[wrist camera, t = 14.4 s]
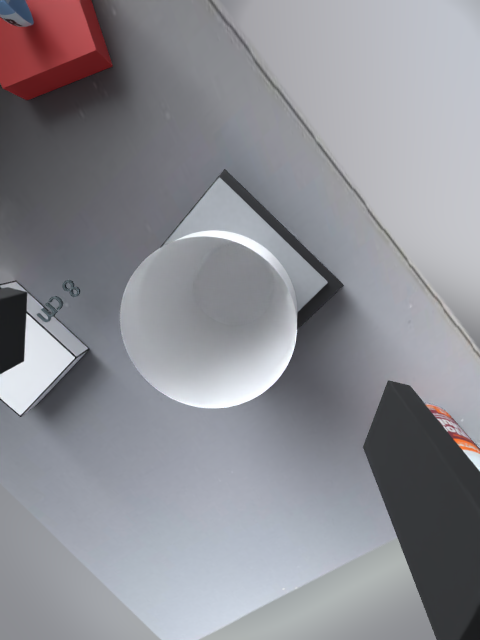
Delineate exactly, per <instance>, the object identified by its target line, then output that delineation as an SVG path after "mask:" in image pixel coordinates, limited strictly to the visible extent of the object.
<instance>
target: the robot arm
mask: <svg viewBox="0 0 480 640" xmlns="http://www.w3.org/2000/svg"><path fill="white" fill-rule="evenodd" d="M26 312H27V292H25V291H21V290H17V289H13V288H9V287H6V288H1V289H0V374H2V373H4V372H5V371H7V370H9V369H11V368H13V367H15V366H16V365H18V364H20V363H22V362H24V353H25V332H26ZM363 448H364V451H365V453H366V456H367V459H368V461H369V464H370V467H371V469H372V472H373V474H374V477H375V480H376V482H377V485H378V487H379V490H380V493H381V495H382V498H383V501H384V503H385V506H386V508H387V511H388V514H389V516H390V519H391V521H392V524H393V527H394V529H395V532H396V535H397V537H398V539H399V542H400V544H401V548H402V550H403V553H404V555H405V558H406V561H407V563H408V566H409V569H410V571H411V573H412V576H413V579H414V582H415V584H416V587H417V589H418V592H419V595H420V597H421V600H422V602H423V605H424V608H425V610H426V613H427V616H428V618H429V621H430V623H431V626H432V629H433V631H434V634H435V636H436V639H437V640H480V471H479V470H478V469H477V467H476V466H475V465H474V464H473V462H472V461H471V460H470V459H469V457H468V456H467V455H466V454H465V453H464V451H463V450H462V449H461V448H460V446H459V445H458V444H457V443H456V442H455V440H454V439H453V438H452V437H451V435H450V434H449V433H448V432H447V431H446V429H445V428H444V427H443V426H442V424H441V423H440V422H439V421H438V419H437V418H436V417H435V416H434V415H433V413H432V412H431V411H430V410H429V408H428V407H427V406H426V405H425V404H424V402H423V401H422V400H421V399H420V397H419V396H418V395H417V394H416V392H415V391H414V390H413V389H412V388H411V386H409V385H405V384H401V383H397V382H393V381H389V380H388V382H387V385H386V387H385V390H384V393H383V395H382V398H381V401H380V403H379V406H378V409H377V411H376V414H375V417H374V419H373V422H372V424H371V427H370V430H369V432H368V435H367V438H366V440H365V443H364V446H363Z"/></svg>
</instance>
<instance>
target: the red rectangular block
mask: <svg viewBox="0 0 480 640" xmlns="http://www.w3.org/2000/svg"><path fill="white" fill-rule="evenodd" d="M112 66H113V65H112V62H111V59H110V56H109V53H108V50H107V47H106V44H105V41H104V38H103V35H102V31H101V28H100V25H99V22H98V19H97V16H96V13H95V10H94V7H93V4H92V1H91V0H0V83H1V86H2V88H3V89H5V90H7V91H9V92H11V93H13V94H15V95H17V96H19V97H21V98H23V99H25V100H30V99H32V98H35V97H37V96H40V95H42V94H45V93H47V92H50V91H52V90H55V89H57V88H60V87H62V86H65V85H67V84H70V83H72V82H75V81H77V80H80V79H82V78H85V77H87V76H90V75H92V74H95V73H97V72H100V71H102V70H105V69H107V68H110V67H112Z"/></svg>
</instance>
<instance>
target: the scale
mask: <svg viewBox="0 0 480 640" xmlns="http://www.w3.org/2000/svg"><path fill="white" fill-rule="evenodd" d="M209 230H219V231H227V232H232V233H236V234H240V235H243V236H245V237H247V238H250V239H252V240H254V241H255V242H257V243H259V244H260V245H262V246H263V247H265V248H266V249H267V250H268V251H269V252H271V253H272V254H273V255H274V256H275V257H276V258H277V260H278V261H279V262H280V263H281V265H282V266H283V267H284V269H285V271H286V272H287V274H288V276H289V278H290V280H291V282H292V285H293V288H294V291H295V295H296V301H297V330H298V329H299V328H300V327H301V326H302V325H303V324H304V323H305V322H306V321H307V320H308V319H309V318H310V317H311V316H312V315H313V314H314V313H315V312H316V311H317V310H319V309H320V308H321V307H322V306H323V305H324V304H325V303H326V302H327V301H328V300H329V299H330V298H331V297H332V296H333V295H334V294H335V293H336V292H337V291H338V290H339V289H340V288H342V287H343V286H344V285H343V284H342V283H341V282H340V281H339V280H338V279H337V278H336V277H335V276H334V275H333V274H332V273H331V272H330V271H329V270H328V269H327V268H326V267H325V266H324V265H323V264H322V263H321V262H320V261H319V260H318V259H317V258H316V257H315V256H313V255H312V254H311V253H310V252H309V251H308V250H307V249H306V248H305V247H304V246H303V245H302V244H301V243H300V242H299V241H298V240H297V239H296V238H295V237H294V236H293V235H292V234H291V233H290V232H289V231H288V230H287V229H286V228H285V227H284V226H283V225H282V224H281V223H280V222H279V221H278V220H277V219H276V218H275V217H274V216H272V215H271V214H270V213H269V212H268V211H267V210H266V209H265V208H264V207H263V206H262V205H261V204H260V203H259V202H258V201H257V200H256V199H255V198H254V197H253V196H252V195H251V194H250V193H249V192H248V191H247V190H246V189H245V188H244V187H243V186H242V185H241V184H240V183H239V182H238V181H237V180H236V179H235V178H234V177H233V176H231V175H230V174H229V173H228V172H227V171H226V170H225V169H224V170H223V172H222V173H221V174H220V175H219V176H218V178H217V179H216V180H215V181H214V182H213V184H212V185H211V186H210V187H209V189H208V190H207V191H206V192H205V193H204V195H203V196H202V197H201V198H200V199H199V201H198V202H197V203H196V204H195V206H194V207H193V208H192V209H191V210H190V212H189V213H188V214H187V215H186V216H185V218H184V219H183V220H182V221H181V222H180V224H179V225H178V226H177V227H176V229H175V230H174V231H173V232H172V233H171V235H170V236H169V237H168V238H167V239H166V241H165V242H164V243H163V244H162V246H161V247H163V246H164V245H167V244H169V243H171V242H174V241H175V240H177V239H179V238H181V237H184V236H186V235H189V234H192V233H196V232H201V231H209ZM161 247H160V248H161Z"/></svg>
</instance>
